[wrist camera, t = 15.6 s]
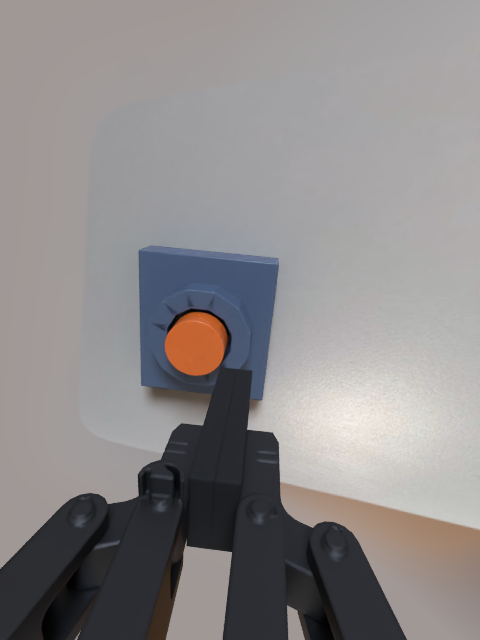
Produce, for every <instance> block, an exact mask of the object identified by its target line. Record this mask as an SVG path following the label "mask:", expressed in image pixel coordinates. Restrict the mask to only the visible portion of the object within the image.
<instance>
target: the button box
mask: <svg viewBox="0 0 480 640" xmlns="http://www.w3.org/2000/svg"><path fill="white" fill-rule="evenodd" d="M278 267H279V262H278V258H270V257H260V256H250V255H240V254H230V253H220V252H209V251H199V250H189V249H179V248H169V247H159V246H148V247H146V248H143V249H141V250H139V289H140V343H141V385H142V386H149V387H157V388H165V389H173V390H181V391H190V392H198V393H206V394H213V390H214V387H215V383H216V380H217V377H218V373H219V370H220V367H223V368H232V369H242V370H252V371H253V372H252V383H251V394H250V399H255V400H262V397H263V389H264V381H265V373H266V365H267V357H268V348H269V340H270V332H271V324H272V316H273V308H274V299H275V291H276V283H277V275H278ZM192 312H204V313H208V314H210V315H212V316H214V317H216V318H217V319H218V320H219V321H220V322H221V323H222V324H223V326H224V328H225V330H226V333H227V338H228V342H227V347H226V350H225V353H224V356H223V359H222V362H221V363H220V365H219V366H218V367H217V368H216V369H215V370H214V371H212V372H210V373H208V374H205V375H201V376H193V375H188V374H185V373H183V372H181V371H179V370H178V369H176V368H175V367H174V366H173V365H172V364H171V363H170V361H169V359H168V357H167V355H166V352H165V340H166V337H167V335H168V333H169V331H170V330H171V329H172V327H173V326H174V325H175V324H176V322H177V321H178V320H179V319H180V318H181V317H182V316H184V315H186V314H188V313H192Z"/></svg>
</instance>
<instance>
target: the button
mask: <svg viewBox="0 0 480 640" xmlns="http://www.w3.org/2000/svg"><path fill="white" fill-rule="evenodd" d="M227 342H228V338H227V333H226V330H225V328H224V326H223V324H222V323H221V322H220V321H219V320H218V319H217V318H216V317H214V316H212V315H210V314H208V313H204V312H192V313H188V314H186V315H184V316H182V317H181V318H180V319H179V320H178V321H177V322H176V324H175V325H174V326H173V327H172V329H171V330H170V331H169V333H168V335H167V337H166V340H165V352H166V355H167V357H168V359H169V361H170V363H171V364H172V365H173V366H174V367H175V368H176V369H178V370H179V371H181V372H183V373H185V374H188V375H193V376H201V375H205V374H208V373H210V372H212V371H214V370H215V369H216V368H217V367H218V366H219V365H220V363H221V362H222V359H223V356H224V353H225V350H226V347H227Z"/></svg>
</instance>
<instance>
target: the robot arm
mask: <svg viewBox="0 0 480 640" xmlns="http://www.w3.org/2000/svg"><path fill="white" fill-rule="evenodd" d="M252 372H253V371H252V370H242V369H232V368H223V367H220V370H219V373H218V377H217V380H216V383H215V387H214V390H213V394H212V397H211V401H210V404H209V408H208V411H207V414H206V418H205V421H204V425H203V426H200V425H191V424H182V423H181V424H180V425H179V426H178V427H177V428H176V429H175V430H174V431H173V432H172V434H171V436H170V439H169V441H168V444H167V446H166V448H165V452H164V453H163V456H162V458H161V460H159V461H155V462H152V463H150V464H148V465H147V466H145V467H144V468H142V470H141V471H140V472H139V474H138V488H139V489H138V490H139V496H138V497H136V498H134V499H132V500H128V501H125V502H119V503H113V504H107V502H106V500H105V498H103V497H102V496H100V495H99V494H93V493H88V494H82V495H79V496H77V497H74V498H72V499H70V500H69V501H68V502H66V503H65V504H64V505H63V506H62V507H61V508H60V509H59V510H58V511H57V512H56V513H55V514H54V515H53V516H52V517H51V518H50V519H49V520H48V521H47V522H46V523H45V524H44V525H43V526H42V527H41V528H40V529H39V530H38V531H37V532H36V533H35V534H34V536H32V537H31V539H29V541H27V542H26V543H25V545H23V547H22V548H21V549H20V550H19V551H18V552H17V553H16V554H15V555H14V556H13V557H12V558H11V559H10V560H9V561H8V562H7V563H6V564H5V565H4V566H3V567H2V568H1V569H0V640H75V638H76V636H77V635H78V634H79V632H80V631H81V632H80V634H79V636H78V639H77V640H166V635H167V631H168V627H169V622H170V618H171V614H172V610H173V605H174V601H175V597H176V592H177V588H178V584H179V580H180V575H181V571H182V567H183V551H184V548H185V543H186V539H187V546H190V547H198V548H205V549H213V550H221V551H228V552H232V559H231V569H230V577H229V586H228V596H227V605H226V614H225V623H224V632H223V640H288V622H287V605H288V606H290V607H292V608H294V609H296V610H297V611H298V615H299V619H300V623H301V626H302V630H303V634H304V637H305V640H407V639H406V637H405V635H404V633H403V631H402V629H401V627H400V625H399V623H398V621H397V619H396V617H395V615H394V613H393V611H392V609H391V607H390V605H389V603H388V601H387V599H386V597H385V595H384V593H383V591H382V588H381V586H380V585H379V583H378V581H377V578H376V576H375V574H374V572H373V570H372V569H371V566H370V564H369V562H368V560H367V558H366V556H365V554H364V552H363V550H362V548H361V546H360V544H359V542H358V541H357V539H356V538H355V536H354V535H353V533H352V532H350V531H349V530H348V529H346V528H345V527H344V526H342V525H340V524H337V523H334V522H322V523H318V524H317V525H316V526H315V527H314V528H312V527H309V526H307V525H305V524H303V523H300V522H299V521H297V520H295V519H293V518H292V517H291V516H290V515H289V514H287V512H286V510H285V509H284V507H283V505H282V503H281V498H280V471H279V442H278V441H277V439H276V437H275V436H274V434H273V433H271V432H262V431H253V430H247V426H248V415H249V404H250V394H251V383H252Z"/></svg>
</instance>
